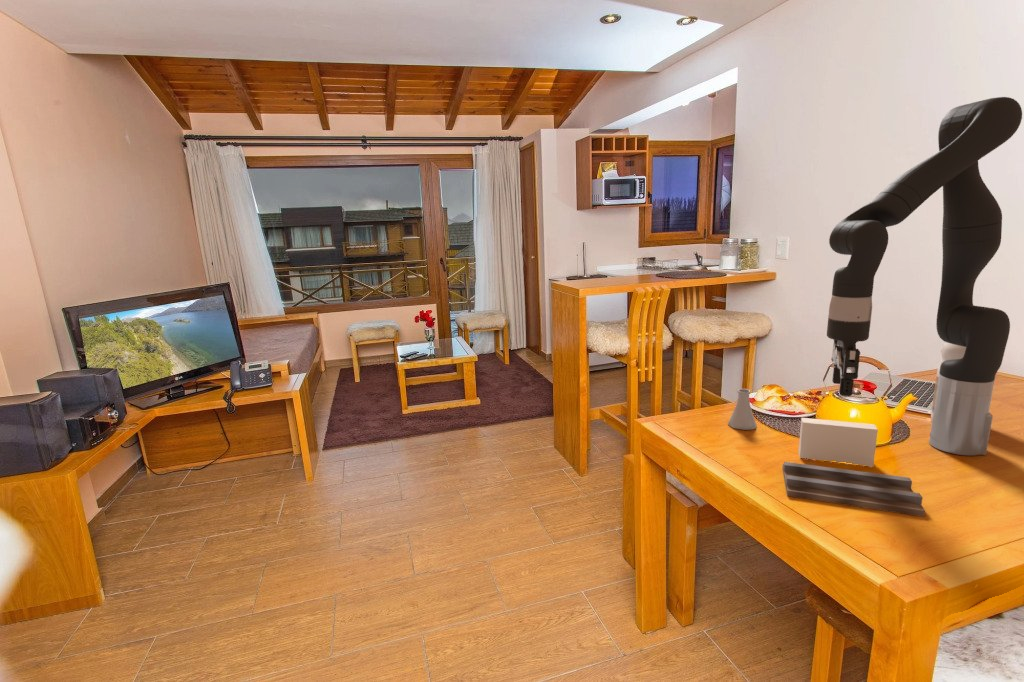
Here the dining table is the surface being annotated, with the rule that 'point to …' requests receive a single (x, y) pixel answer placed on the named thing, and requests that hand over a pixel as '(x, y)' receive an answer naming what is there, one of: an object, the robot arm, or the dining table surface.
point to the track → (853, 498)
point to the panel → (838, 441)
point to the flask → (742, 412)
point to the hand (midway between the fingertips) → (841, 389)
